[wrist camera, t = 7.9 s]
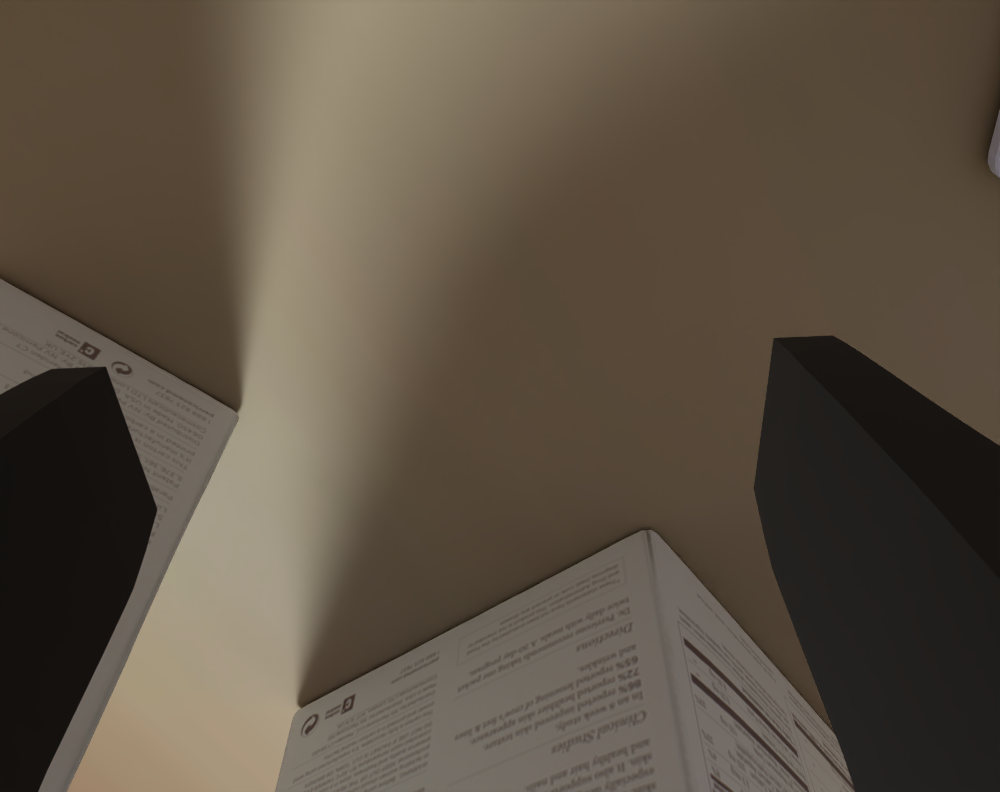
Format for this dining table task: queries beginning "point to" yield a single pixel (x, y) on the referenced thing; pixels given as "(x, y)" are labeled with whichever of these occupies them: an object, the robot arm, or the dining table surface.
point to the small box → (163, 455)
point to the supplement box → (574, 698)
